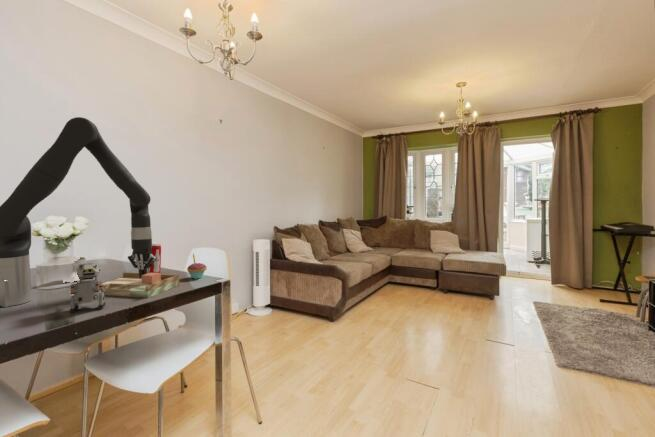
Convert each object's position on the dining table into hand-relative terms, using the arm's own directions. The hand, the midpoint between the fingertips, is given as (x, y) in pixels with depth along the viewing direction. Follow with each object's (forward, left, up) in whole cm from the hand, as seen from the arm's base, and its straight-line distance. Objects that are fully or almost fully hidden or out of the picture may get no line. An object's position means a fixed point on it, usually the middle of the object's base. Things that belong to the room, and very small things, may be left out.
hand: (143, 277), depth 131 cm
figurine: (-25, -1, -4) cm, 25 cm away
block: (0, -4, -2) cm, 5 cm away
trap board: (-3, +1, -4) cm, 5 cm away
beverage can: (+22, +13, -4) cm, 26 cm away
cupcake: (+19, -13, -4) cm, 23 cm away
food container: (+4, +39, -4) cm, 40 cm away
